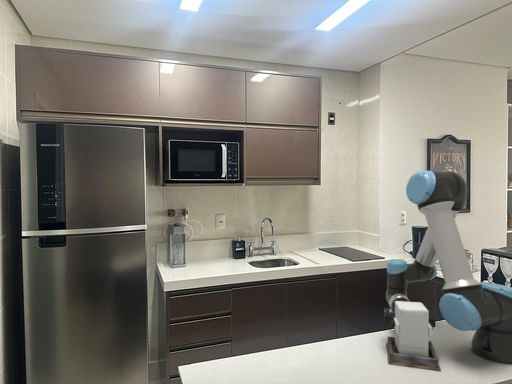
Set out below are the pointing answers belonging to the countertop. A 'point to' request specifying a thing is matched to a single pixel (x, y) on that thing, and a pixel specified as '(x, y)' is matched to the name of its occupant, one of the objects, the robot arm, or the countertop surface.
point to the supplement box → (412, 328)
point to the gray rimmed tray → (412, 357)
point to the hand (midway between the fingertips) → (414, 330)
